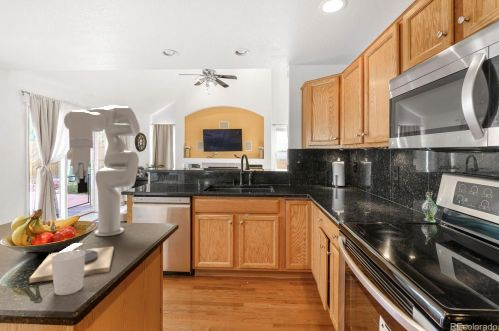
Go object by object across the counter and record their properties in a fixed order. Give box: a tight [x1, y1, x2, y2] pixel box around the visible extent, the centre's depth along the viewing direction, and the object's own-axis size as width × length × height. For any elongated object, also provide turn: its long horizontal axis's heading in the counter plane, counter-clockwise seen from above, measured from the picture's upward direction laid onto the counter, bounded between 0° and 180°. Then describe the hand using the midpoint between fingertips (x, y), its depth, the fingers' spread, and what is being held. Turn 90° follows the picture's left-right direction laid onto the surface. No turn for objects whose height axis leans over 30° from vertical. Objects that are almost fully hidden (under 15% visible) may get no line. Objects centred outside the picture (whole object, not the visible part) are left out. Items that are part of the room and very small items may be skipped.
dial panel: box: [28, 246, 115, 284], centre depth 92 cm, size 21×21×4 cm
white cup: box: [51, 250, 85, 296], centre depth 75 cm, size 8×8×10 cm
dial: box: [58, 242, 98, 263], centre depth 91 cm, size 14×12×5 cm
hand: (82, 192), depth 100 cm, fingers closed
